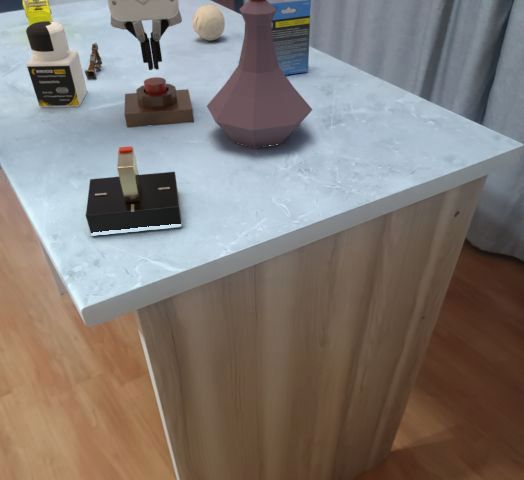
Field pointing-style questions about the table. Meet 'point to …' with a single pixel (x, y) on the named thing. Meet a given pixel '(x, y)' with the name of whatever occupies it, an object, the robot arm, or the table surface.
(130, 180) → the beige two-tone block
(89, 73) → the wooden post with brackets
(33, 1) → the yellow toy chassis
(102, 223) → the lever switch base
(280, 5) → the blue product box
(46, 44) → the medicine bottle
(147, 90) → the button
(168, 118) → the button block
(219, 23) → the beige ball
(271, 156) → the table surface
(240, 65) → the flask
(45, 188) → the table surface
